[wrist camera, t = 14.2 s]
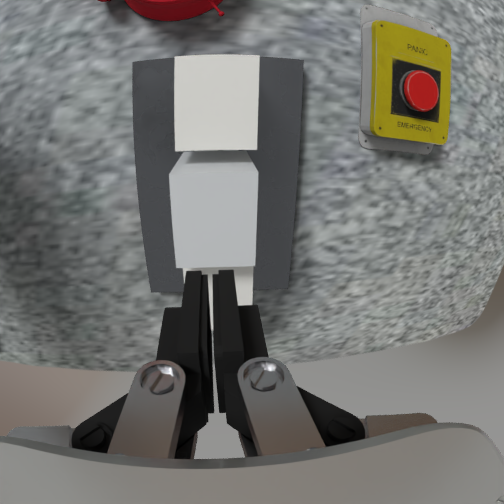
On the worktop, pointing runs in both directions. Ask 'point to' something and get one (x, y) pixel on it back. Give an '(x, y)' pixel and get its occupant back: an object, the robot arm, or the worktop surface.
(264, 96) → the board
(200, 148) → the mounted modules
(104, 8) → the worktop surface
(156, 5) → the alarm clock
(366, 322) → the worktop surface
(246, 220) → the block
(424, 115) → the emergency button
